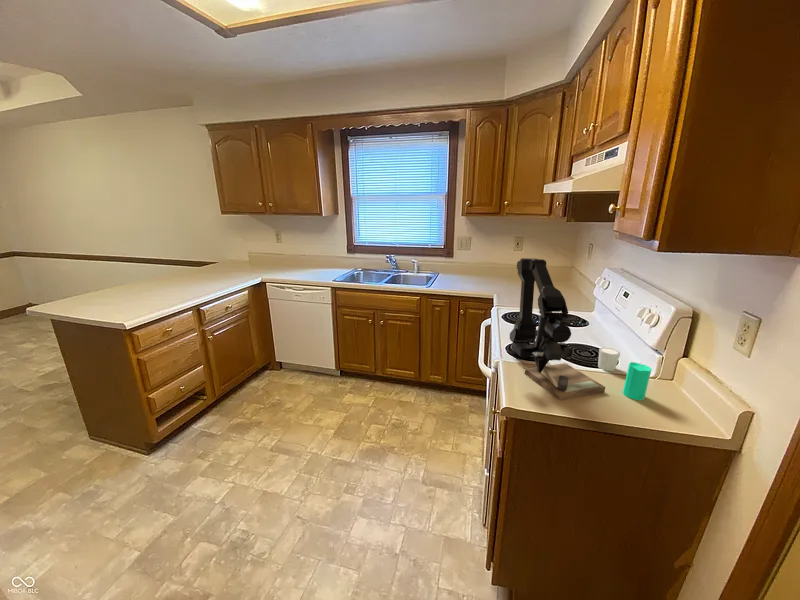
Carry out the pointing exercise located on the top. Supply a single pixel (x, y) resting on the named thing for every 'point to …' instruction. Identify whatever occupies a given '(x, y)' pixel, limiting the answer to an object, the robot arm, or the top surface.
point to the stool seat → (576, 383)
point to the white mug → (608, 359)
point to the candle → (636, 381)
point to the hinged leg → (555, 376)
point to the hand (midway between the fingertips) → (539, 372)
